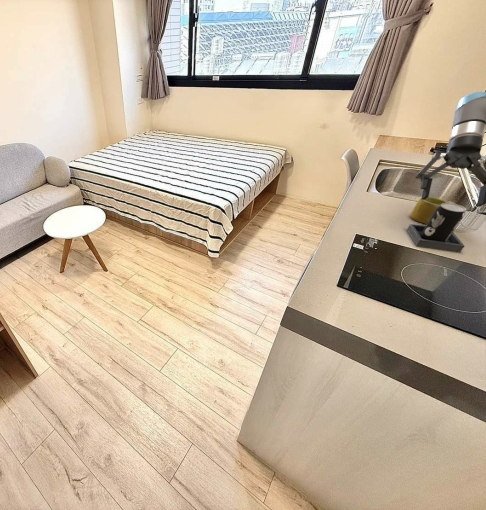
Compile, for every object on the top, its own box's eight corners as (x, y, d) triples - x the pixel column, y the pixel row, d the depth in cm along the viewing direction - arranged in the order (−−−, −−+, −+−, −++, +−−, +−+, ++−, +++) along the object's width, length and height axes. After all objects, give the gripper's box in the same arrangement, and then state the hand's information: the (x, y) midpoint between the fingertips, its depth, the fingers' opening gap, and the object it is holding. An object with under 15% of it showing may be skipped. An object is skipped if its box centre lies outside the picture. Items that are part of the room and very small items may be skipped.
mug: (420, 223, 99) (435, 196, 96) (399, 218, 109) (412, 193, 106) (456, 231, 99) (472, 203, 95) (432, 225, 108) (446, 200, 105)
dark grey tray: (445, 236, 96) (450, 228, 94) (459, 253, 88) (464, 246, 86) (405, 230, 100) (410, 223, 98) (415, 247, 92) (420, 239, 90)
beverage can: (414, 235, 96) (433, 203, 89) (432, 233, 96) (452, 201, 89) (432, 245, 90) (454, 212, 83) (450, 243, 91) (474, 210, 84)
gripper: (510, 149, 88) (497, 211, 86) (411, 144, 98) (398, 199, 97) (531, 136, 81) (517, 203, 80) (422, 131, 92) (408, 191, 90)
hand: (452, 201), depth 88 cm, fingers open, 13 cm apart
